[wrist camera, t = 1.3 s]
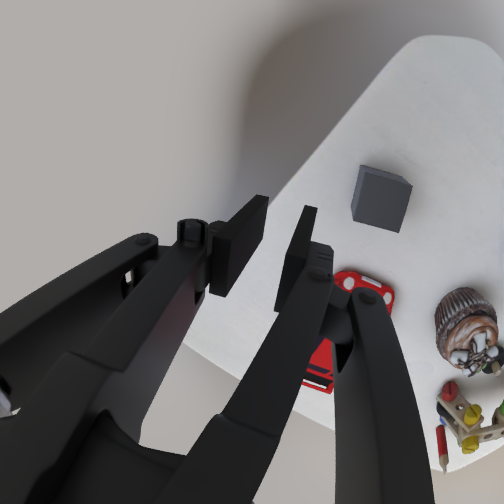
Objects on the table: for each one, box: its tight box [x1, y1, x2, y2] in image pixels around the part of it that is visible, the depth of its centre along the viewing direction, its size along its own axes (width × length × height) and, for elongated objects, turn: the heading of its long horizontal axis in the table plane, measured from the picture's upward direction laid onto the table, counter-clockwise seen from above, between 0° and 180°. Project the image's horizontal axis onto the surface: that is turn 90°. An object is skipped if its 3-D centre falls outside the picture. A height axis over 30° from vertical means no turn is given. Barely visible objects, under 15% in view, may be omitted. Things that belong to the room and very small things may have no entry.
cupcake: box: [435, 287, 498, 377], centre depth 28 cm, size 10×10×10 cm
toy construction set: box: [436, 346, 504, 474], centre depth 28 cm, size 27×22×21 cm
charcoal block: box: [351, 165, 413, 233], centre depth 28 cm, size 5×5×5 cm
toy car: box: [302, 271, 394, 394], centre depth 37 cm, size 10×20×5 cm, turn 166°
